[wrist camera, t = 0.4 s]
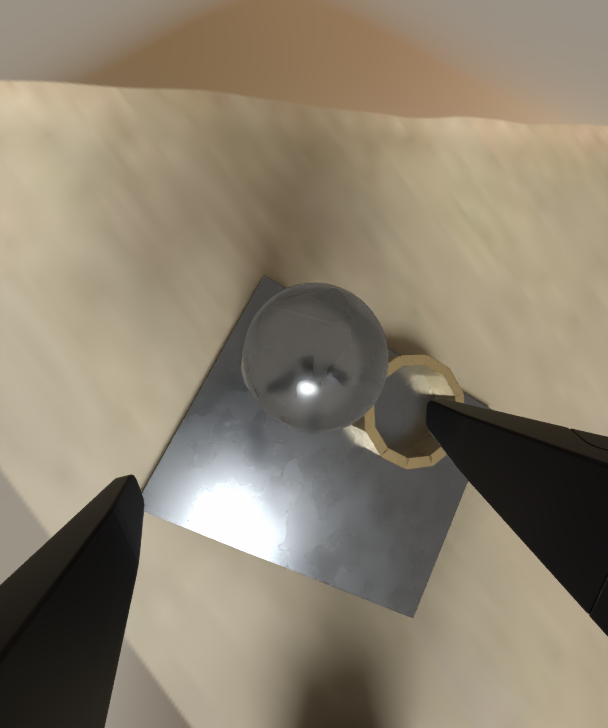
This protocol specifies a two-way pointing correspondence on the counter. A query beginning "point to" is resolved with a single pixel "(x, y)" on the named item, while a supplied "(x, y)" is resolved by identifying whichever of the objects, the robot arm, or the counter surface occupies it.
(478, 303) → the counter surface
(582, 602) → the robot arm
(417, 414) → the base
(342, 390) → the grey cylindrical piece
